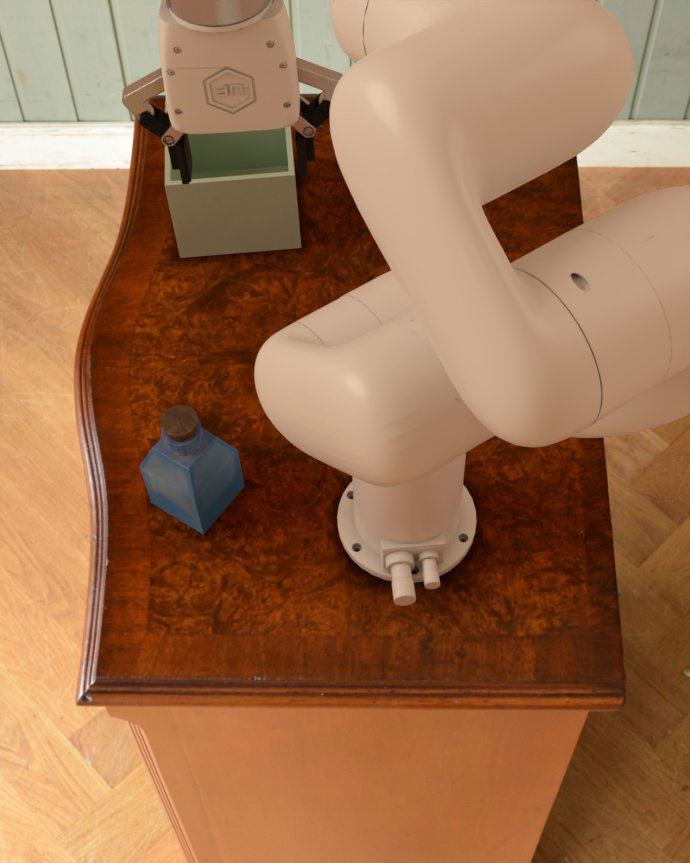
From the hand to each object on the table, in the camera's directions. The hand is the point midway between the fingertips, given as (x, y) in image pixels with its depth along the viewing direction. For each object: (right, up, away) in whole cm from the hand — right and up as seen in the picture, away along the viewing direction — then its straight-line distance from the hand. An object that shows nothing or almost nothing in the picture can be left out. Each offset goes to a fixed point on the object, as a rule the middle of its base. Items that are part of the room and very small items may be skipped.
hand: (245, 169), depth 95 cm
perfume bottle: (-5, -28, +12) cm, 31 cm away
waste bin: (-4, +3, +33) cm, 33 cm away
